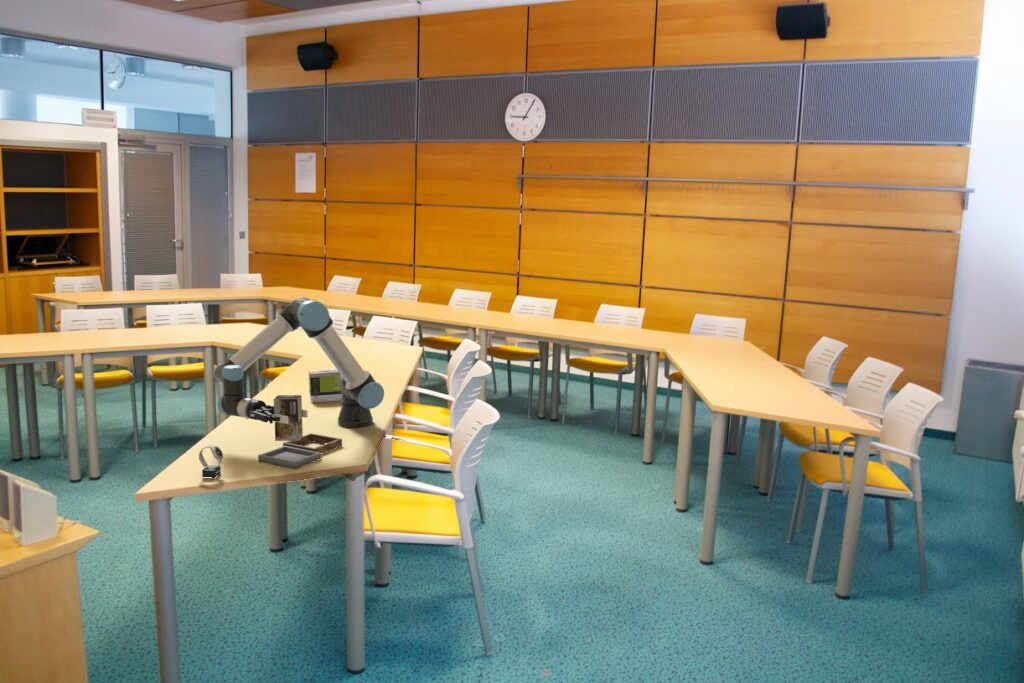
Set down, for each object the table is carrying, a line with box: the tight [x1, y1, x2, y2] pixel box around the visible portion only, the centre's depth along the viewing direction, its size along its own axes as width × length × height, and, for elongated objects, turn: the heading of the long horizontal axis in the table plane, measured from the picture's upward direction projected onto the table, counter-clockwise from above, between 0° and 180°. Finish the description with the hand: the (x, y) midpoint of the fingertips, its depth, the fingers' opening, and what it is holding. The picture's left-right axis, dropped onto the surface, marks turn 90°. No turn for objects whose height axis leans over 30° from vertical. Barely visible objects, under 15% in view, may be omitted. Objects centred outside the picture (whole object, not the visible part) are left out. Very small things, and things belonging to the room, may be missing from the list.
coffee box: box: [273, 394, 304, 442], centre depth 294 cm, size 9×6×16 cm
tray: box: [257, 445, 322, 470], centre depth 297 cm, size 14×18×2 cm
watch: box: [198, 444, 224, 478], centre depth 277 cm, size 6×8×11 cm
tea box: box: [308, 368, 342, 403], centre depth 390 cm, size 15×10×15 cm, turn 108°
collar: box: [282, 433, 343, 454], centre depth 312 cm, size 16×16×3 cm
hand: (297, 416), depth 292 cm, fingers closed on coffee box, 9 cm apart
